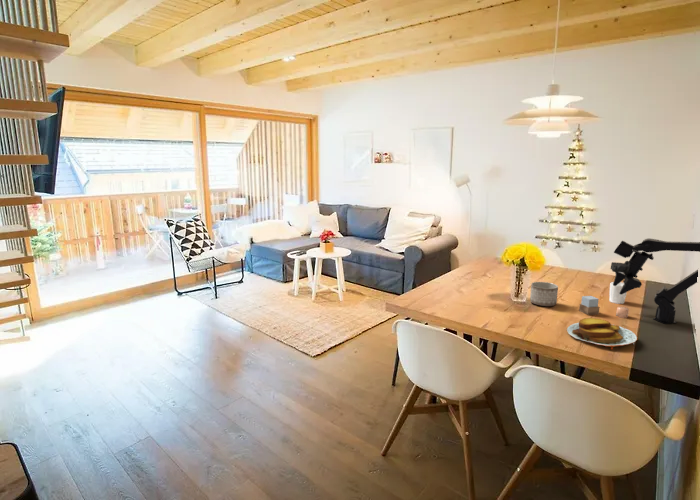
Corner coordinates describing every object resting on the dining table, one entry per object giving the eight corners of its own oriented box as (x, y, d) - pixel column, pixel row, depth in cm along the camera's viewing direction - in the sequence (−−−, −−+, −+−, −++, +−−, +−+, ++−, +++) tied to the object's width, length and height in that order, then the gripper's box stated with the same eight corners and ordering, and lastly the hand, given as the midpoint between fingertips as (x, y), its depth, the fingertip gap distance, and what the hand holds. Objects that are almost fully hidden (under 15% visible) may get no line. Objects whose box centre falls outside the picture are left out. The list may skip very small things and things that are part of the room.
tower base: (598, 314, 193) (599, 307, 192) (587, 315, 192) (588, 307, 191) (589, 310, 198) (590, 303, 198) (578, 311, 198) (579, 303, 197)
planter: (524, 301, 212) (525, 283, 210) (542, 298, 217) (544, 280, 215) (543, 309, 201) (545, 289, 199) (561, 306, 205) (563, 286, 203)
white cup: (628, 304, 205) (630, 286, 203) (611, 303, 207) (614, 285, 205) (621, 299, 213) (623, 282, 211) (605, 299, 215) (607, 281, 213)
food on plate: (627, 357, 149) (629, 341, 148) (557, 338, 167) (559, 324, 166) (642, 337, 167) (644, 322, 165) (577, 322, 184) (578, 308, 183)
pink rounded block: (630, 317, 188) (631, 309, 187) (621, 318, 187) (622, 310, 186) (622, 314, 192) (623, 306, 191) (613, 314, 192) (614, 307, 191)
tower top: (597, 306, 192) (598, 298, 191) (588, 307, 192) (589, 299, 191) (590, 303, 197) (591, 295, 196) (581, 304, 196) (582, 296, 196)
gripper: (612, 249, 196) (595, 275, 202) (626, 264, 179) (606, 292, 185) (635, 258, 194) (616, 283, 201) (650, 273, 177) (630, 301, 184)
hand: (617, 289), depth 193 cm, fingers open, 9 cm apart
